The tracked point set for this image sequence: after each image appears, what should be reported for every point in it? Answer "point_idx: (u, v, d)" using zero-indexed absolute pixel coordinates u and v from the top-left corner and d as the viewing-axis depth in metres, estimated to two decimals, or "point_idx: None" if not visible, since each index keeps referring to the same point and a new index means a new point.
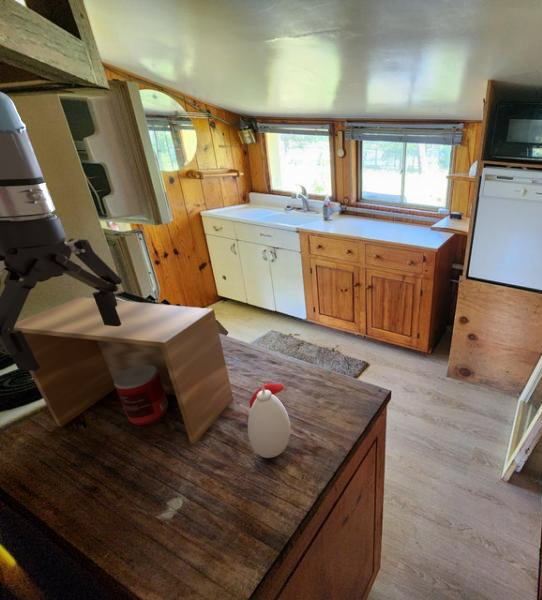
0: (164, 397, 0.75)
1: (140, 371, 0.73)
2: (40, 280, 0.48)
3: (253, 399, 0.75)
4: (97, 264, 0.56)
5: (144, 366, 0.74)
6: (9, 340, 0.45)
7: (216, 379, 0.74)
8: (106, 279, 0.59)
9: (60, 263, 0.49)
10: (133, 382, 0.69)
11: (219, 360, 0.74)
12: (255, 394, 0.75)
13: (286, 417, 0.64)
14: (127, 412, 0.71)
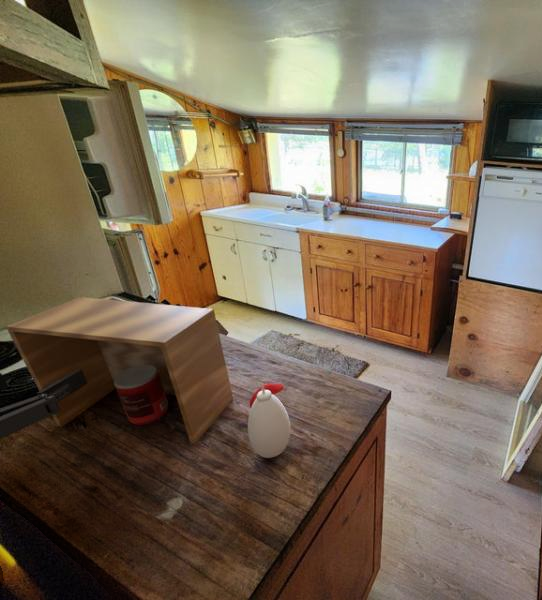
0: (164, 397, 0.75)
1: (140, 371, 0.73)
2: None
3: (253, 399, 0.75)
4: None
5: (144, 366, 0.74)
6: None
7: (216, 379, 0.74)
8: None
9: None
10: (133, 382, 0.69)
11: (219, 360, 0.74)
12: (255, 394, 0.75)
13: (286, 417, 0.64)
14: (127, 412, 0.71)
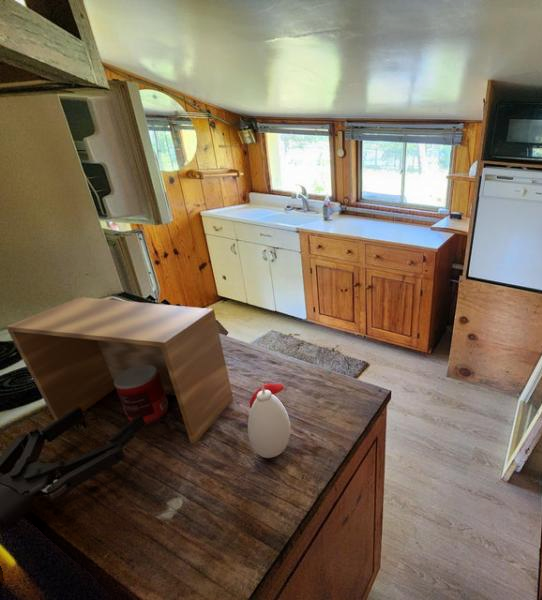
0: (164, 397, 0.75)
1: (141, 371, 0.73)
2: None
3: (253, 399, 0.75)
4: None
5: (144, 366, 0.74)
6: None
7: (216, 379, 0.74)
8: None
9: None
10: (133, 382, 0.69)
11: (219, 360, 0.74)
12: (255, 394, 0.75)
13: (286, 417, 0.64)
14: (127, 412, 0.71)
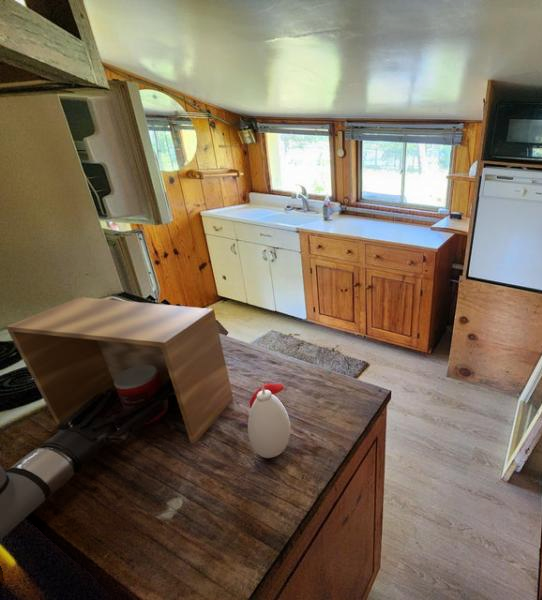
0: None
1: (141, 371, 0.73)
2: None
3: (253, 399, 0.75)
4: None
5: (144, 366, 0.74)
6: None
7: (216, 379, 0.74)
8: None
9: None
10: (133, 382, 0.69)
11: (219, 360, 0.74)
12: (255, 394, 0.75)
13: (286, 417, 0.64)
14: None
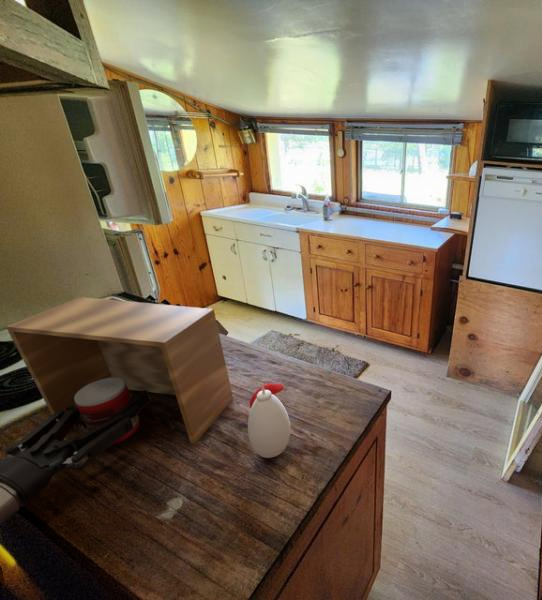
0: None
1: (106, 385, 0.65)
2: None
3: (253, 399, 0.75)
4: None
5: (111, 379, 0.66)
6: None
7: (216, 379, 0.74)
8: None
9: None
10: (96, 398, 0.62)
11: (219, 360, 0.74)
12: (255, 394, 0.75)
13: (286, 417, 0.64)
14: None
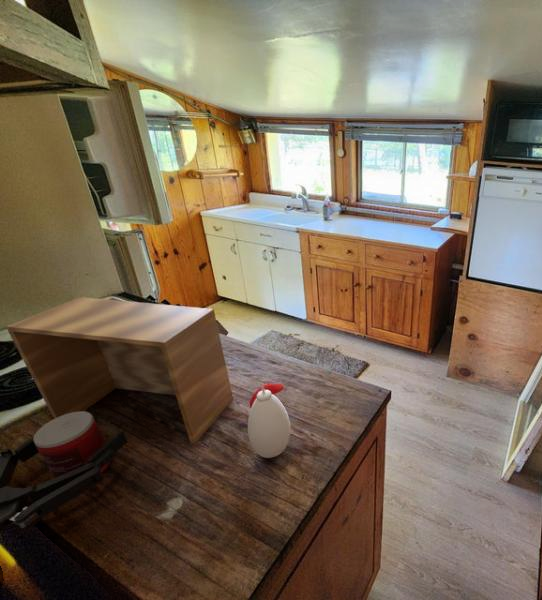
0: None
1: (72, 420, 0.59)
2: None
3: (253, 399, 0.75)
4: None
5: (78, 414, 0.60)
6: None
7: (216, 379, 0.74)
8: None
9: None
10: (58, 438, 0.56)
11: (219, 360, 0.74)
12: (255, 394, 0.75)
13: (286, 417, 0.64)
14: (53, 473, 0.57)
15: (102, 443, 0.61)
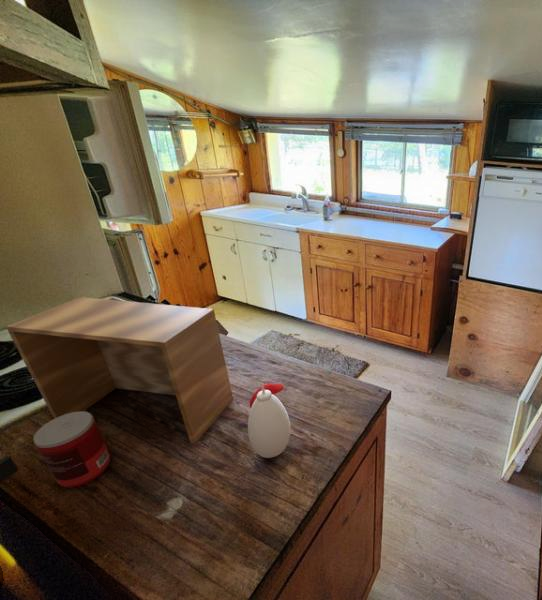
0: (103, 451, 0.61)
1: (72, 420, 0.59)
2: None
3: (253, 399, 0.75)
4: None
5: (78, 414, 0.60)
6: None
7: (216, 379, 0.74)
8: None
9: None
10: (58, 438, 0.56)
11: (219, 360, 0.74)
12: (255, 394, 0.75)
13: (286, 417, 0.64)
14: (53, 473, 0.57)
15: (102, 443, 0.61)
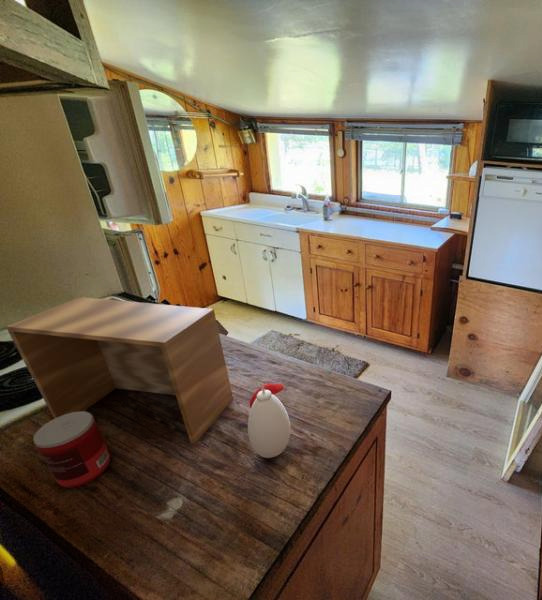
0: (103, 451, 0.61)
1: (72, 420, 0.59)
2: None
3: (253, 399, 0.75)
4: None
5: (78, 414, 0.60)
6: None
7: (216, 379, 0.74)
8: None
9: None
10: (58, 438, 0.56)
11: (219, 360, 0.74)
12: (255, 394, 0.75)
13: (286, 417, 0.64)
14: (53, 473, 0.57)
15: (102, 443, 0.61)
